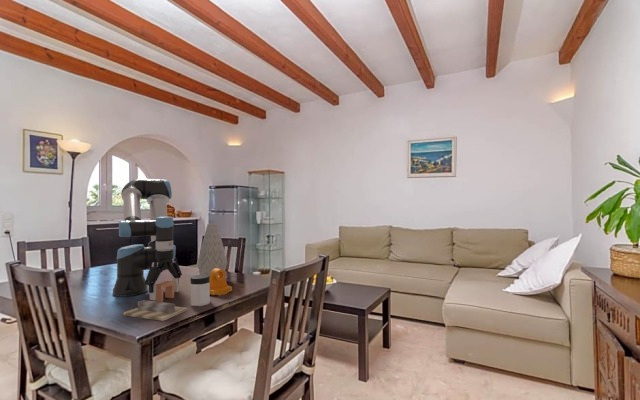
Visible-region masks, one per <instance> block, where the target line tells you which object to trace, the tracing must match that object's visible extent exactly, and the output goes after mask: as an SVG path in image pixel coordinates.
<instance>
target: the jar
mask: <svg viewBox="0 0 640 400" xmlns="http://www.w3.org/2000/svg"><path fill="white" fill-rule="evenodd" d="M189 280H190V281H189V282H190V306H192V307H203V306H207V305H210V304H211V303H210V301H211V299H210V297H211V296H210V295H211V294H210V276H209V275H200V274H196V275H192V276H190V279H189Z"/></svg>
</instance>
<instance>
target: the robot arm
mask: <svg viewBox="0 0 640 400" xmlns="http://www.w3.org/2000/svg"><path fill="white" fill-rule="evenodd" d="M172 193H173V192H172V186H171V181H169V180H168V179H162V178H135V179H133V180H130V181H129V182H127V183H126V184H125V185H124V186H123V188H122V189H121V195H120V196H121V199H122V200H123V220H120V221H119V222H118V236H119V237H120V238H121V237H122V238H134V237H135V238H136V237H150V241H149V242H148V244H147V246H145V245H144V244H143V243H142V244H141V243H140V244H131V245H127V246H122V247H120V248H118V249H117V253H116V280H115V283H114V286H113V288H112V296H116V297H131V296H136V295H138V296H139V295H140V294H144V293H146V292H148V293H149V301H154V300H156V285H155V284H156V282H157V281H158V278H159V277H160V275H161V273H163V272H164V271H166V270H167V271H168V272H169V273H170V274H171V276H172V278H171V281H174V293H177V292H179V281H180V280H179V279H180V278H181V276H182V275H183V272H182V271H181V268H180V265H179V263H178V258H177V257H176V250H177V247H176V245H174V225H175V223H174V218H173V216H168V209H167V207H168V206H167V204H168V203H169V201H170V200H171V199H172V195H173V194H172ZM141 200H146V203H147V204H148V205H149V217H150V219H149V220H146V219H145V220H144V219H143V220H142V213H141ZM148 270H149V271H148ZM144 271H148V273H147V276H146V278H145V276H144V275H145V273H144Z"/></svg>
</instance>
